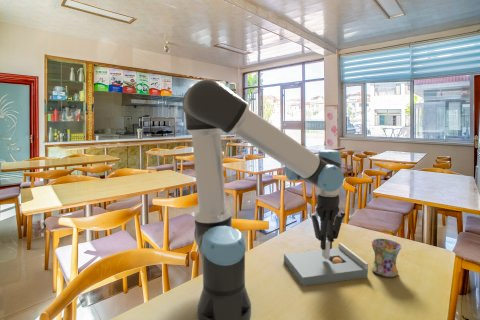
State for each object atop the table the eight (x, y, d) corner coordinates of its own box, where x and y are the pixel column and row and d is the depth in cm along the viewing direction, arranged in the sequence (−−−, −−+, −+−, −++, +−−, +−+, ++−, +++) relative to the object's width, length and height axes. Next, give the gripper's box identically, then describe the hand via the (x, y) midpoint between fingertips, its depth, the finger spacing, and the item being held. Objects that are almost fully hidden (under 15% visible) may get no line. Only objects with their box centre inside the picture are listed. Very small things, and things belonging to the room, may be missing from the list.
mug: (405, 277, 100) (407, 248, 98) (381, 280, 98) (383, 251, 97) (382, 260, 111) (384, 234, 110) (360, 263, 110) (361, 236, 108)
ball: (334, 262, 104) (343, 258, 105) (329, 257, 108) (337, 254, 108) (336, 271, 105) (345, 267, 106) (331, 266, 109) (340, 262, 109)
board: (302, 286, 95) (302, 271, 94) (283, 261, 112) (284, 248, 111) (367, 277, 100) (368, 263, 99) (340, 254, 117) (341, 242, 116)
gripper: (316, 198, 97) (313, 264, 100) (351, 195, 100) (347, 260, 103) (306, 192, 104) (304, 254, 108) (339, 190, 107) (336, 250, 110)
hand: (325, 257), depth 105 cm, fingers closed
